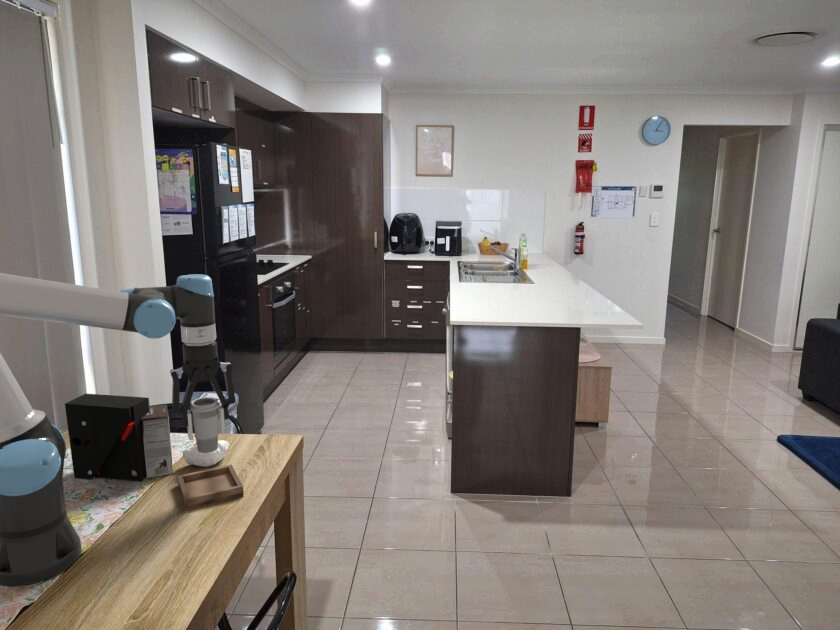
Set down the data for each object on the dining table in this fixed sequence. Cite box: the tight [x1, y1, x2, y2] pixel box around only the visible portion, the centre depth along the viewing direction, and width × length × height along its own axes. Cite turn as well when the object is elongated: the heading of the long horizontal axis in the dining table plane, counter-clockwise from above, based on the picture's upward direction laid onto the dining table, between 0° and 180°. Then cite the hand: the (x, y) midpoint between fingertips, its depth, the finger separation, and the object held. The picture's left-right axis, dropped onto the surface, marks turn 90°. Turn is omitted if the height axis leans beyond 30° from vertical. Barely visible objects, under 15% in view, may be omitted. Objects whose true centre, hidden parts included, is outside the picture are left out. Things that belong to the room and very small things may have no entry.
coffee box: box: [141, 403, 174, 479], centre depth 155 cm, size 9×6×16 cm
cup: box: [189, 396, 221, 453], centre depth 142 cm, size 7×7×12 cm
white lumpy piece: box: [182, 439, 230, 468], centre depth 158 cm, size 12×8×11 cm
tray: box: [177, 464, 245, 510], centre depth 145 cm, size 13×13×2 cm
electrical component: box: [64, 393, 151, 483], centre depth 152 cm, size 18×10×20 cm, turn 81°
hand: (206, 435), depth 142 cm, fingers closed on cup, 7 cm apart
